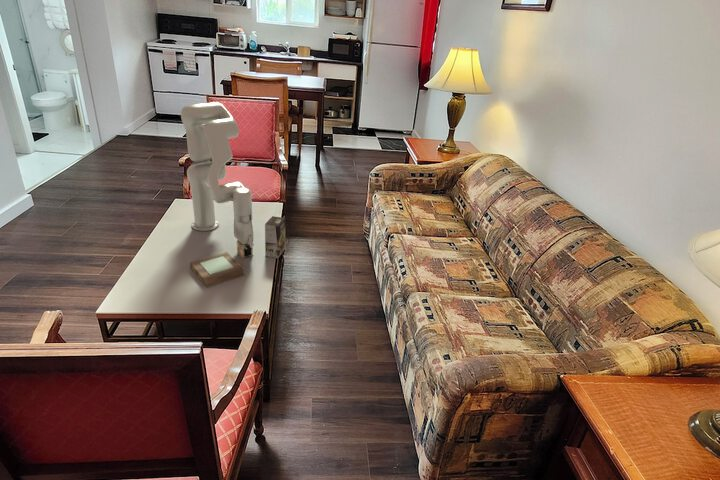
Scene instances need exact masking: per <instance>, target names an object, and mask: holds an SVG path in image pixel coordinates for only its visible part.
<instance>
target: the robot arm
mask: <svg viewBox="0 0 720 480" xmlns="http://www.w3.org/2000/svg"><path fill="white" fill-rule="evenodd" d="M180 118H181V122H182V124H183V127H184V130H185V136H186V143H187V153H188V157H189V159H190V160H191V161H192V162H195V163H194V164H192V165H190V166H189V167H188V168H187V170H186V175H187V179H188V182H189V183H188V184H189V186H190V192H191V193H190V194H191V200H192V209H193V217H194V218H193V219H194V220H193V221H192V222H191V228H192V229H193V230H196V231H199V232H210V231H212V230H216V229H217V228H218V227H219V226H220V222H219V221H218V220H217V219H216V216H215V215H216V214H215V203H216V204H224V203H225V204H226V203H228V202H232V204H233V217H234V218H233V236H234V238H235V239H237V241H240V242H241V243H242V244H244V246H245V249H244V256H245V257H244V258H247V257H250V255H251V256H253V255H252V251H251V248H252V246H253V247H254V243H253V242H254V227H253V223H252V222H253V203H252V201H253V200H252V199H253V198H252V197H253V196H252V191H251V189H249V188H248V187H246V186H245V185H244V184H243V183H242V182H241V181H231V182H228V183H223V184H220V182H219V181H222V180H224V179H225V177H226V176H227V169H226V168H227V167H226V164H227V163H228V162H230V161H231V160H232V159H233V157H234V156H233V155H234V154H233V152H232V149H231V145H230V141H229V140H230V139H235V138H238V136H239V134H240V129H239V128H240V127H239V125H238V123H237V121H236V119H235V118H234V117H233V115H232V114H231V112H230V111H229V110H228V109H227V108H226V107H225V106H224V105H223V104H222V103H220V102H216V101H215V102H213V101H212V102H203V103H192V104H187V105H184V106H183V107H182V108H181V110H180ZM199 162H200V163H199ZM247 243H249V245H247Z"/></svg>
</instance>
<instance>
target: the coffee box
mask: <svg viewBox="0 0 720 480" xmlns="http://www.w3.org/2000/svg"><path fill="white" fill-rule="evenodd" d="M264 244H265V246H264V249H265V250H264V251H265V257H270V258H274V259H279V258H280V257H281V255H282V254H283V252H284V251H285V250H286V217H280V216H271V217H270V218H269V219H268V220H267V221H266V223H265V224H264Z"/></svg>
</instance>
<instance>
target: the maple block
mask: <svg viewBox="0 0 720 480" xmlns="http://www.w3.org/2000/svg"><path fill="white" fill-rule="evenodd" d="M247 245H249V243H247ZM253 248H254V246H252V248H251V251H252V255H251V256H253V255H254V249H253ZM244 249H245V246H244V244H242V243H241V242H240V241H238V240H236V251H237V252H236V253H237V255H239V256H240V257H241V258H242V259H244V258H246V257H245V256H244Z"/></svg>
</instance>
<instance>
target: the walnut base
mask: <svg viewBox="0 0 720 480" xmlns="http://www.w3.org/2000/svg"><path fill="white" fill-rule="evenodd" d="M189 265H190V270H191V271H192V272H193V273H194V274H195V276H197V278H198V279H199V280H200V282H202V285H204V286H205V288H208V287H213V286H215V285H217V284H220V283H221V284H222V283H224V282H227V281H231V280H234V279H237V278H239V277H243V276H244V275H245V269H244V267H243V266H241V264H240V263H239V262H237V261H236V259H234V258H233V257H232V256H231V254H230V253H229V252H227V251H226V252H222V253H218V254H213V255H211V256H208V257H203V258H201V259H197V260H193V261H190V262H189Z"/></svg>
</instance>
